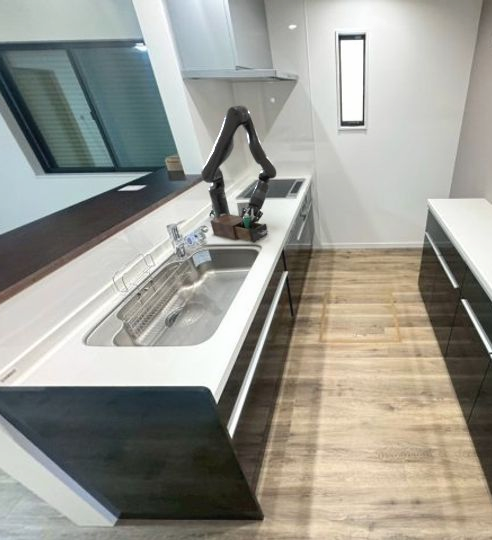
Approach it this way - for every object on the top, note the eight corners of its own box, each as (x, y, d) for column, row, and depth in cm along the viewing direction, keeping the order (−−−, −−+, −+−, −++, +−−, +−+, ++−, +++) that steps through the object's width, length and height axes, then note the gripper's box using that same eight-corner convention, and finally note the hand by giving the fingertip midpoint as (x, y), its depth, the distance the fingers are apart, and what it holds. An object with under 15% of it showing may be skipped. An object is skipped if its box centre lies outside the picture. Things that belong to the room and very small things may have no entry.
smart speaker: (256, 219, 193) (252, 197, 185) (254, 224, 185) (250, 202, 178) (241, 220, 192) (236, 199, 184) (239, 225, 184) (234, 203, 177)
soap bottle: (244, 235, 166) (240, 215, 160) (250, 232, 169) (246, 212, 163) (250, 236, 164) (246, 216, 158) (256, 233, 167) (252, 213, 161)
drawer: (273, 236, 167) (271, 224, 163) (259, 244, 158) (257, 232, 155) (246, 230, 175) (244, 219, 172) (231, 237, 167) (229, 226, 163)
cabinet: (251, 232, 175) (249, 218, 170) (235, 240, 165) (232, 225, 161) (230, 227, 182) (227, 213, 178) (213, 234, 173) (210, 220, 168)
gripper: (243, 194, 165) (232, 221, 162) (263, 197, 159) (251, 226, 156) (252, 200, 171) (241, 227, 169) (271, 204, 165) (260, 231, 163)
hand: (246, 226), depth 162 cm, fingers closed on soap bottle, 4 cm apart
